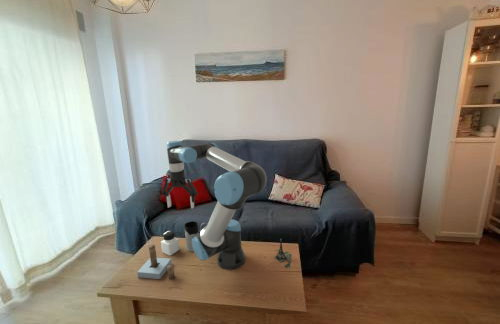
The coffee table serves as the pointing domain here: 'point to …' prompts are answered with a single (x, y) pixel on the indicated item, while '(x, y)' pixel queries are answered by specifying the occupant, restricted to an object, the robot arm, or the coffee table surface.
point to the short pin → (170, 271)
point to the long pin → (153, 256)
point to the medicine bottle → (169, 243)
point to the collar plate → (154, 269)
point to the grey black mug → (191, 233)
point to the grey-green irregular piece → (283, 256)
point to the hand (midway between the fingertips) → (181, 207)
